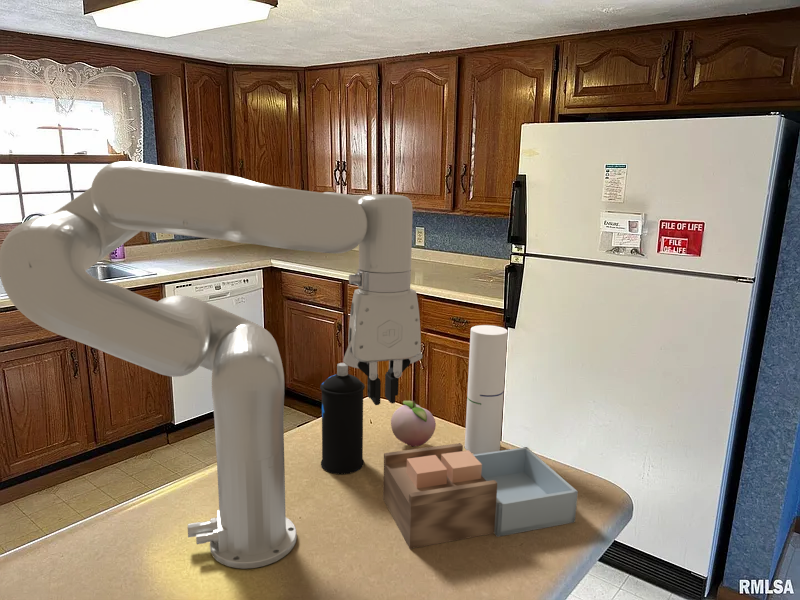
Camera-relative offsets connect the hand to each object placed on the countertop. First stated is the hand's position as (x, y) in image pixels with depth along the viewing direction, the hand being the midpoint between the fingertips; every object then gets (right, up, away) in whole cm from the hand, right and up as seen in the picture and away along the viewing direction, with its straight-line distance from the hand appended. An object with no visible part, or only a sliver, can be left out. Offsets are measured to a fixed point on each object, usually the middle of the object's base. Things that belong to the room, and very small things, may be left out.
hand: (382, 400), depth 89 cm
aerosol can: (-8, -16, +24) cm, 30 cm away
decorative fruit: (+5, -15, +31) cm, 35 cm away
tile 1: (+7, -13, +5) cm, 16 cm away
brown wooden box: (+9, -20, +7) cm, 23 cm away
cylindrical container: (+19, -15, +32) cm, 40 cm away
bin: (+22, -19, +12) cm, 32 cm away
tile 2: (+13, -13, +7) cm, 20 cm away
